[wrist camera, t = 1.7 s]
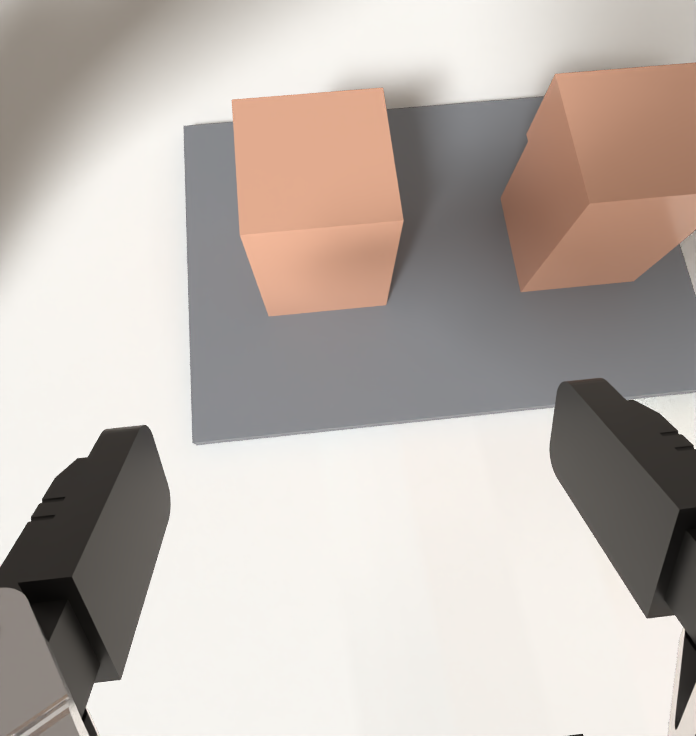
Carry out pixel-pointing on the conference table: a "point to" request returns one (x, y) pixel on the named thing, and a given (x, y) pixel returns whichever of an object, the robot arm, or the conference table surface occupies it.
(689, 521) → the robot arm
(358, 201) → the peach square prism
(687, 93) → the peach rectangular block
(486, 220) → the mat
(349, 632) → the conference table surface
